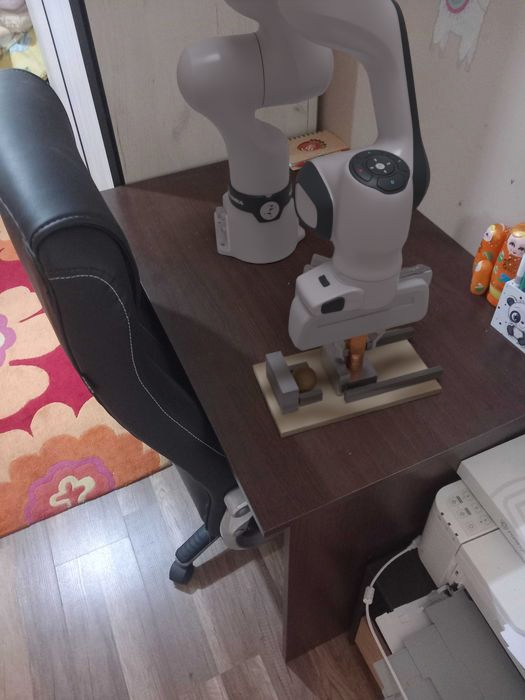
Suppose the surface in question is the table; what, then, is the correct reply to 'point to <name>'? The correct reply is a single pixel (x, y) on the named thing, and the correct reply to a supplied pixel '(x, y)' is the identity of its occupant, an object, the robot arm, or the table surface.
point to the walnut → (304, 378)
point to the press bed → (327, 407)
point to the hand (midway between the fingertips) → (354, 350)
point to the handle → (348, 366)
